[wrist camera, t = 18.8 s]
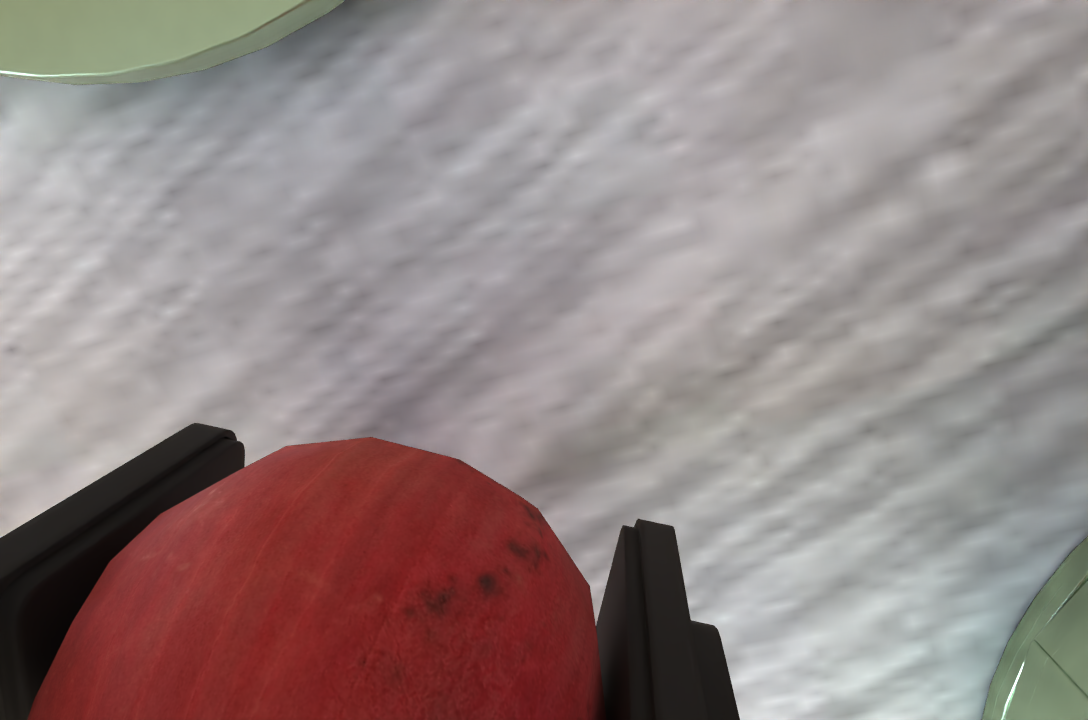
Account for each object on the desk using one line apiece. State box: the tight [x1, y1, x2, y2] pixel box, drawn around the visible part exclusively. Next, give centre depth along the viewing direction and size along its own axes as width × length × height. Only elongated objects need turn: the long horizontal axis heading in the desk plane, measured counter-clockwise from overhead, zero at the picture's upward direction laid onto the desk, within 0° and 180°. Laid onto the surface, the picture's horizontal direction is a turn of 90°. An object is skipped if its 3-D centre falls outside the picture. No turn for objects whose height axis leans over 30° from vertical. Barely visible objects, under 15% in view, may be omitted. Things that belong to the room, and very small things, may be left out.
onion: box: [27, 437, 606, 720], centre depth 7 cm, size 6×6×8 cm
